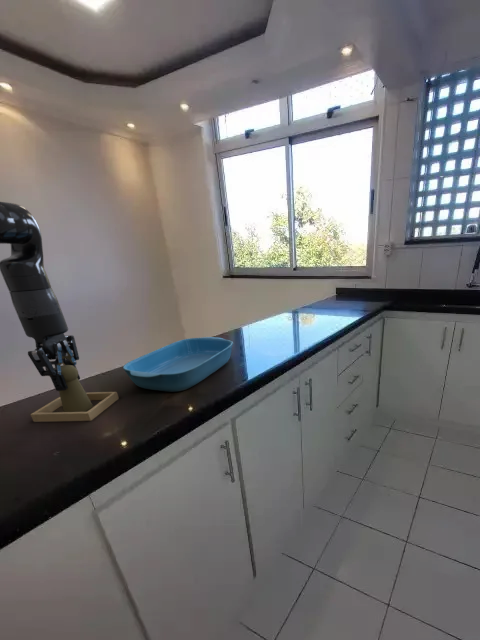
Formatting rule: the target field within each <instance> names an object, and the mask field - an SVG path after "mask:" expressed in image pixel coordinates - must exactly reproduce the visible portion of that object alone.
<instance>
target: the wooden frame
mask: <svg viewBox="0 0 480 640" xmlns="http://www.w3.org/2000/svg"><path fill="white" fill-rule="evenodd" d="M86 394H87V396H88V397H89V399H90V401H99V402H98V403H97V404H95V405H93V407H92V408H91V409H89V410H87V411H85V412H64V411H59V412H58V411H57V412H55V411H56V410H58V409H59V408H61V407H62V402H61V398H60V396H58V397H57V398H55V399H54V400H52V401H50V402H49V403H47V404H45V405H43V406H42V407H40V408H39V409H37V410H35V411H33V412H32V413H31V414H29V415H30V417H31V419H32V421H33V423H38V422H39V423H43V422H45V423H46V422H47V423H49V422H87V421H88V422H92V421H93V420H94V419H95V418H97V417H98V416H99V415H100V414H102V413H104V411H105V410H107V409H108V408H110V406H112V405H113V404H114V403H115V402H117V401H118V400H119V394H118V392H117V391H97V392H96V391H95V392H94V391H93V392H92V391H91V392H86Z"/></svg>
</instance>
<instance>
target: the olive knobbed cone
mask: <svg viewBox="0 0 480 640" xmlns="http://www.w3.org/2000/svg"><path fill="white" fill-rule="evenodd" d="M60 366H61V372H62V373H61V374H63V376H64V379H65V381H66V384H67V386H68V389H66V390H64V391H58V394H59V397H60V398H61V402H62V406H61V407H62V412H87V411H89V410H90V409H91V408H93V407H94V405H93V402H92V400H90V399H89V397H88V396H87V394H86V393H87V392H86V390H85V389H84V386H83V385H82V383H81V381H80V379H79V380H78V374H79V370H78V369H76V368H77V366H76V367H74V366H72V365H63V364H61V365H60ZM53 368H54V369H55V367H53Z"/></svg>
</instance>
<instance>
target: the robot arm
mask: <svg viewBox="0 0 480 640" xmlns="http://www.w3.org/2000/svg"><path fill="white" fill-rule="evenodd" d="M0 245H10V256H9V257H6V258H3V259H1V260H0V274H1V276H2V278H3V281H4V283H5V287H6V288H7V290H8V291H9V292H8V293H9V295H10V299H11V304H12V305H13V308H14V311H15V313H16V315H17V318H18V320H19V322H20V324H21V327H22V329H23V331H24V334H25V336H26V337H28V338H32V339H33V340H34V343H35V349H34V350H28V351H27V356H28V357H29V359H30V360H31V363H32V364H33V365H34V367H35V369H36V370H37V372H38V374H39V375H40V377H50V380H51V382H52V384H53V387H54V389H55V391H57V392H59V391H64V390H66V389H68V386H67V384H66V381H65V379H64V376H63V374H61V373H62V372H61V366H62V365H72V366H74V367H76V369H77V368H78V367H77V366H76V365H77V361H79V360H80V355H79V351H78V347H77V343H76V339H75V336H74V335H73V334H71V335H70V334H69V335H65V333H67V332H68V331H69V327H68V324H67V322H66V319H65V316H64V314H63V311H62V308H61V305H60V302H59V300H58V298H57V295H56V294H55V291H54V290H53V287H52V285H51V282H50V279H49V277H48V274H47V271H46V269H45V263H44V262H45V261H44V249H43V238H42V232H41V228H40V226H39V224H38V222H37V220H36V218H35V217H34V216H33V214H32V213H31V212H30V211H29V210H28V209H27V208H25V207H24V206H22V205H20V204H17V203H13V202H7V201H0ZM54 368H55V369H54ZM77 370H78V369H77ZM78 380H79V381H80V380H81V377H80V374H79V373H78Z"/></svg>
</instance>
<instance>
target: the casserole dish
mask: <svg viewBox="0 0 480 640" xmlns="http://www.w3.org/2000/svg"><path fill="white" fill-rule="evenodd" d="M233 345H234V342H233V341H232V340H229V339H225V338H222V337H217V336H204V337H203V336H202V337H190V338H184V339H180V340H177V341H174V342H171V343H169V344H167V345H164V346H163V347H160V348H158V349H155V350H153V351H150V352H148V353H146V354H143V355H140V356H139V357H136V358H134V359H132V360H130V361H128V362H127V363H125V364H124V365H123V366H122V370H123V371H125V373H126V375H127V376H128V377H129V379H130V380H131V382H132V383H133V384H134V385H136V386H137V387H139V388H140V389H141V388H142V389H145V390H151V391H159V392H166V393H167V392H168V393H179V392H183V391H186V390H189V389H190V388H193V387H194V386H196V385H197V384H199V383H201V382H202V381H203V380H206V379H207V378H208V377H209V376H210V375H212V374H214V373H216V371H218V370H219V369H221V368H223V367H224V366H225V365H226V364H227V363H228V362H229V360H230V358H231V356H232V351H233Z"/></svg>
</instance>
